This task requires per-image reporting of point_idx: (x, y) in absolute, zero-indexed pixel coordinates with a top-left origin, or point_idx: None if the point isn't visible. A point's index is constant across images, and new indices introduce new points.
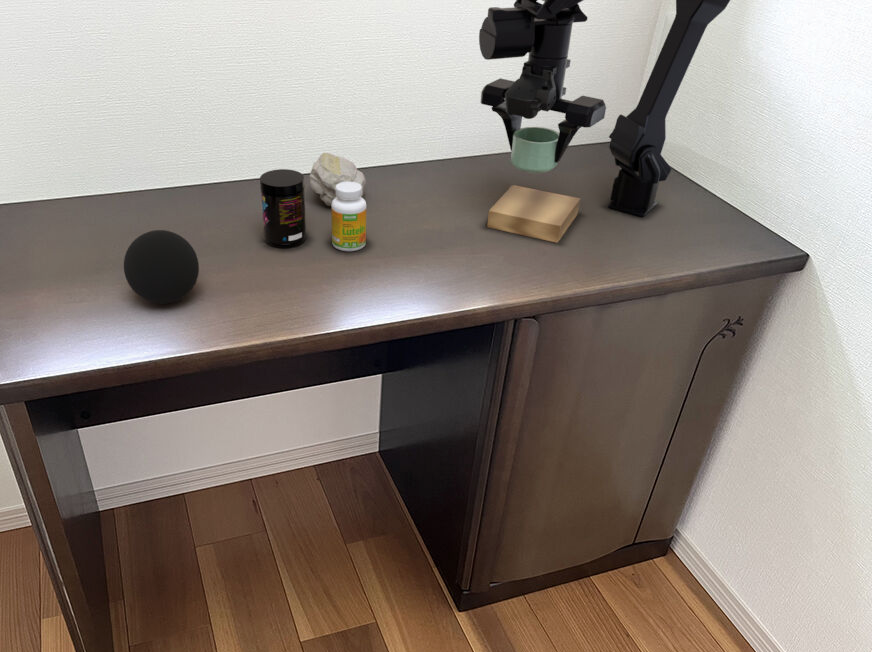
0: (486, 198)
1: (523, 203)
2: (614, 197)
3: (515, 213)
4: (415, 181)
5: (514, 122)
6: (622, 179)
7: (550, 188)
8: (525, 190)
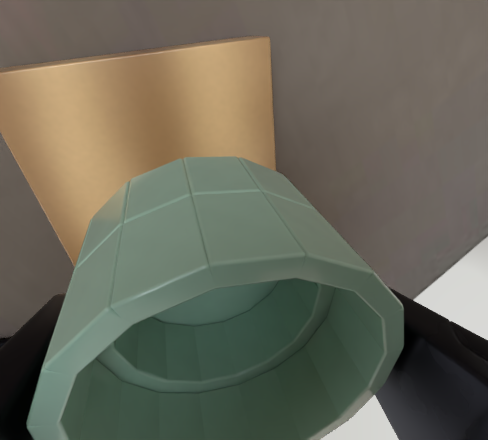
0: (317, 201)
1: None
2: None
3: (179, 76)
4: (475, 175)
5: (455, 407)
6: None
7: None
8: None
